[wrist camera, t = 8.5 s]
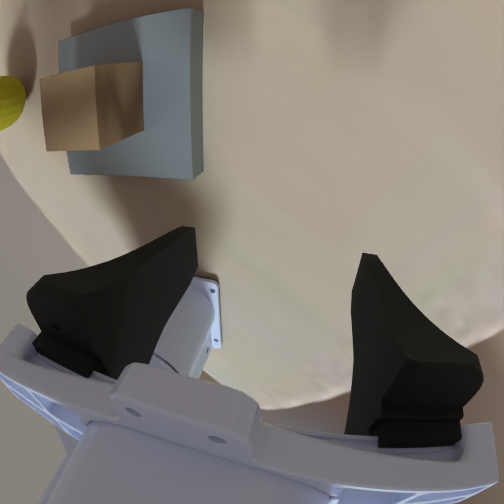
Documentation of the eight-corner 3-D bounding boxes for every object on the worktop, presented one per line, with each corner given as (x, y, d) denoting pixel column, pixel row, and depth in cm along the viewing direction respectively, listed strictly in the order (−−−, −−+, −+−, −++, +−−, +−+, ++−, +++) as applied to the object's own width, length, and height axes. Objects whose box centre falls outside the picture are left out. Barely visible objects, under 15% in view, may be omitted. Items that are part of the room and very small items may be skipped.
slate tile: (203, 170, 22) (192, 179, 21) (84, 166, 24) (70, 174, 23) (203, 12, 15) (191, 7, 14) (74, 40, 18) (58, 41, 16)
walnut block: (144, 130, 19) (99, 150, 15) (92, 131, 20) (46, 151, 16) (142, 61, 16) (94, 65, 12) (88, 70, 17) (39, 79, 13)
